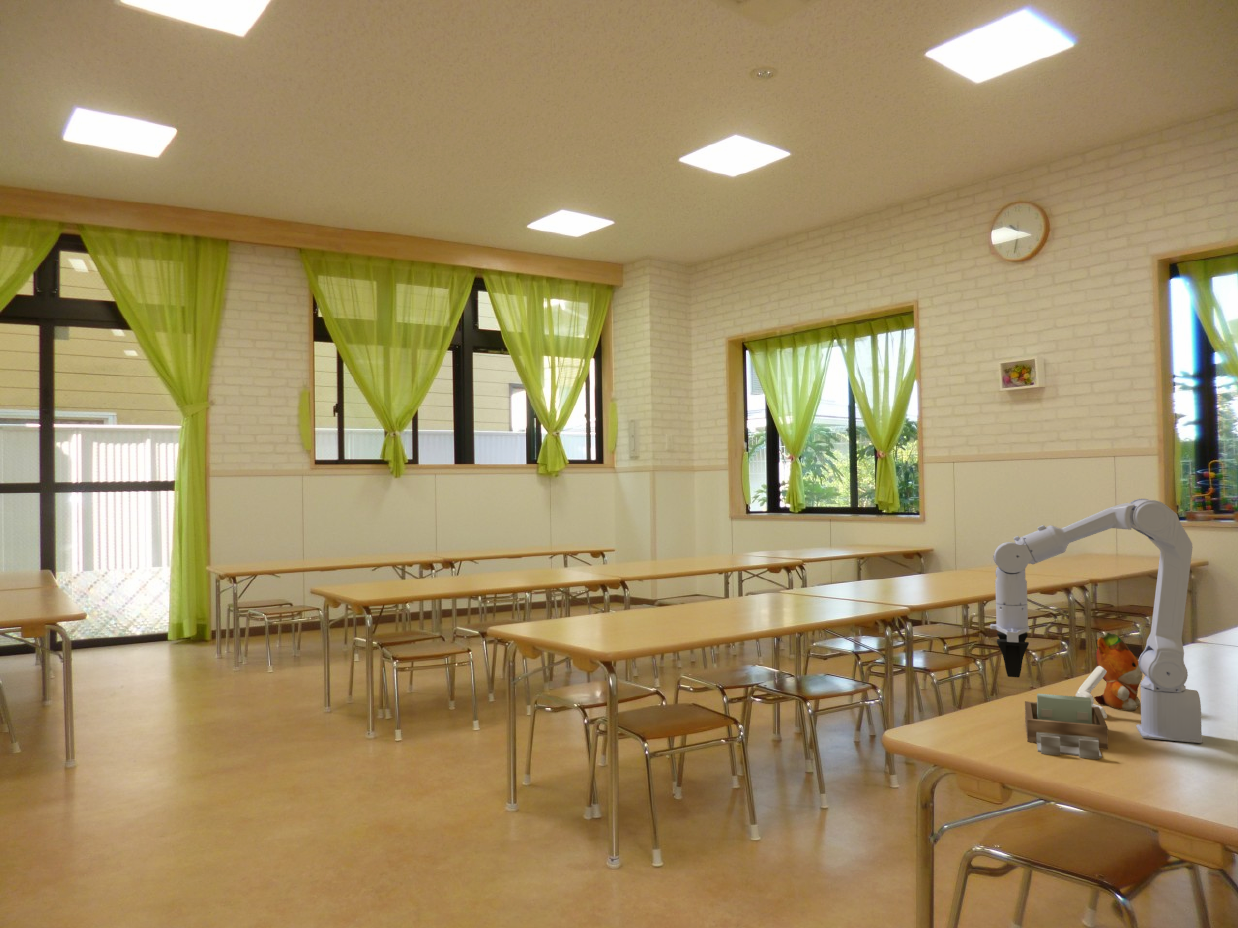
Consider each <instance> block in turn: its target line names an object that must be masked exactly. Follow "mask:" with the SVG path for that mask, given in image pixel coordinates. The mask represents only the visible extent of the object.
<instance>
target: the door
mask: <svg viewBox="0 0 1238 928" xmlns="http://www.w3.org/2000/svg"><path fill="white" fill-rule="evenodd" d="M1036 702H1037V719H1039V720H1051V721H1062V722H1073V723H1085V724H1092V702H1091V699H1090V698H1088V697H1076V695H1075V696H1073V695H1060V694H1050V693H1049V694H1046V693H1036Z"/></svg>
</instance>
